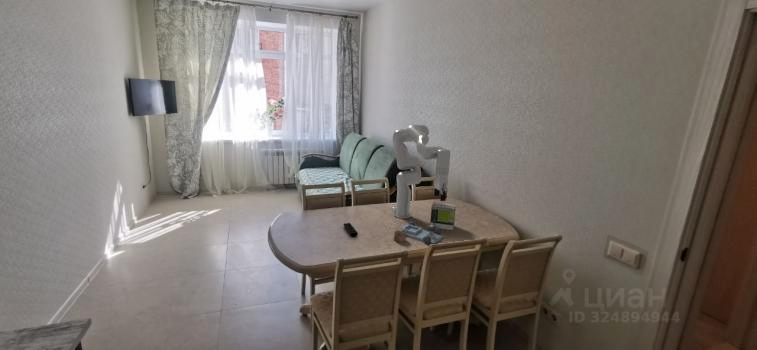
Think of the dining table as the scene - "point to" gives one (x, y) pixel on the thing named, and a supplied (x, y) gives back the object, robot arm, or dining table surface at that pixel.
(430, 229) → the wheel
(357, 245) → the dining table surface
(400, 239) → the engine block
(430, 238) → the chassis
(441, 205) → the retro computer monitor
